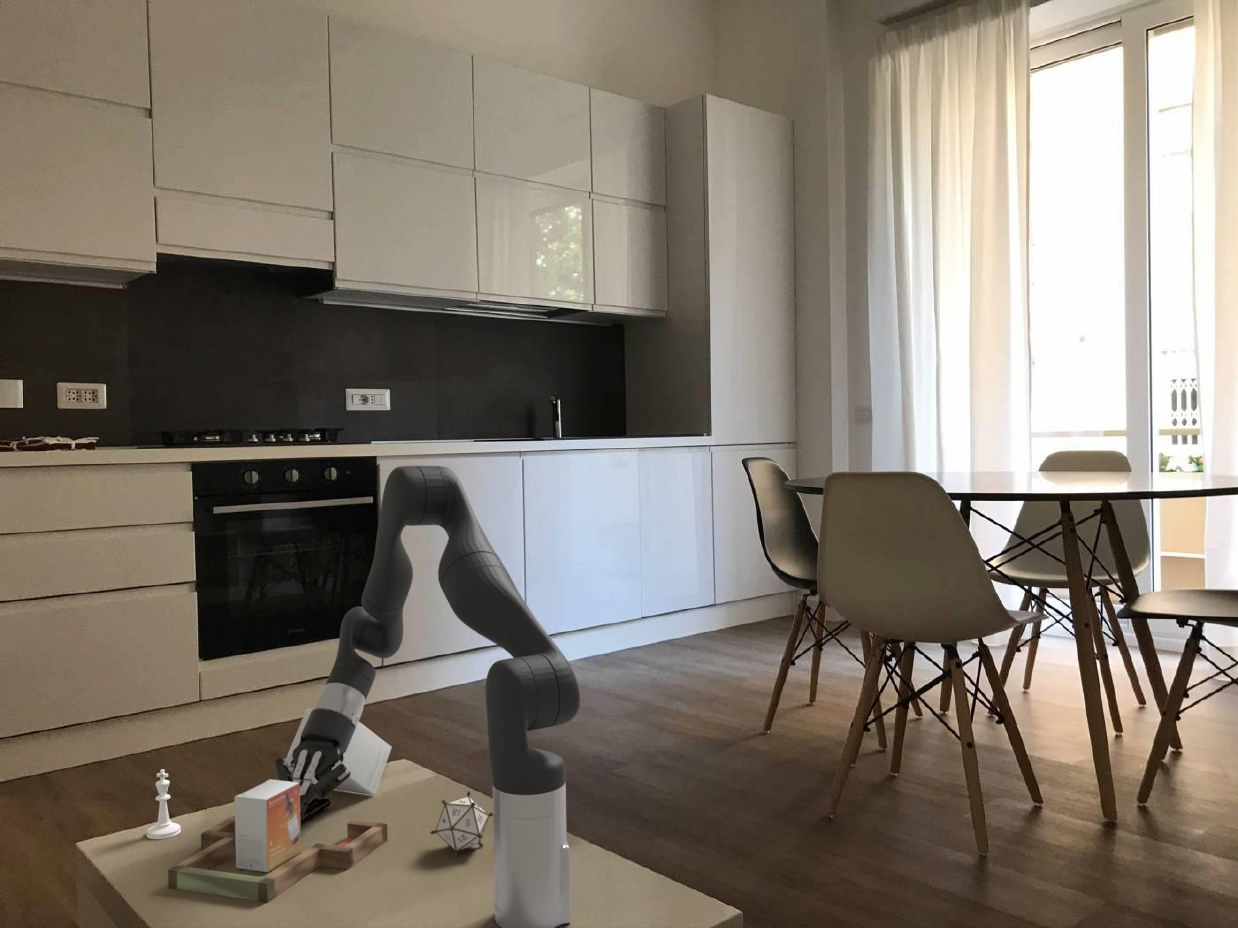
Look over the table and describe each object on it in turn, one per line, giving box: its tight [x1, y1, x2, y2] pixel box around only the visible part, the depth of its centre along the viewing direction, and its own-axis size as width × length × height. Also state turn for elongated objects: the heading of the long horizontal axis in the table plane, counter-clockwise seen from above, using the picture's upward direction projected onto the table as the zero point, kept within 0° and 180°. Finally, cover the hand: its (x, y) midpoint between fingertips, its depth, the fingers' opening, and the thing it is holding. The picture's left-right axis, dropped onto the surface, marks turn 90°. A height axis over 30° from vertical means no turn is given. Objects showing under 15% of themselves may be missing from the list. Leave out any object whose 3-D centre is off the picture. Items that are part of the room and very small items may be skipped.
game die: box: [429, 790, 493, 858], centre depth 153 cm, size 9×8×10 cm
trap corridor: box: [167, 815, 389, 903], centre depth 149 cm, size 23×25×2 cm
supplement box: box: [286, 708, 392, 796], centre depth 175 cm, size 9×9×15 cm
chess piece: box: [146, 769, 182, 840], centre depth 160 cm, size 5×5×10 cm
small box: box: [234, 778, 302, 873], centre depth 149 cm, size 8×6×10 cm
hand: (289, 821), depth 154 cm, fingers closed
